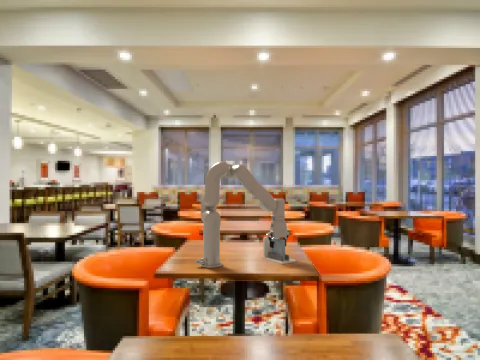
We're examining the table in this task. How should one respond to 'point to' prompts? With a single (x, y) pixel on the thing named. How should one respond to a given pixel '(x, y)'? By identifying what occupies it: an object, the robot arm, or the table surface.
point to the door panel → (279, 247)
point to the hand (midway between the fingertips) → (278, 246)
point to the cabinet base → (274, 257)
